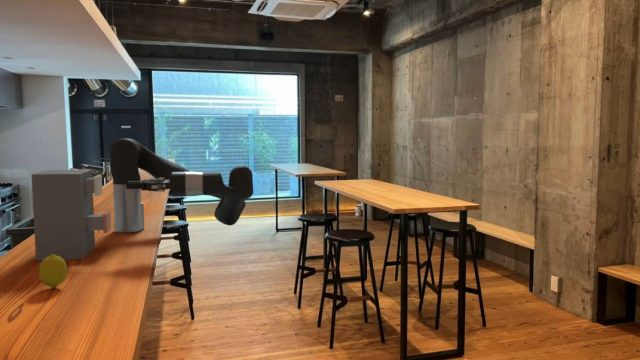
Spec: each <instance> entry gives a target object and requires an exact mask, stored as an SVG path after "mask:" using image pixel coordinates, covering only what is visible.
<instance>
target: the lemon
mask: <svg viewBox="0 0 640 360" xmlns="http://www.w3.org/2000/svg"><path fill="white" fill-rule="evenodd" d="M38 270H39V271H38V275H39V279H40V282H41V283H43V284H44V285H45V286H47V287H50V288H51V289H56V288H57V287H58V286H59V285H61V284H63V283H64V282H65V280H66V278H67V275H68V266H67V263H66V261H65V260H64V259H63V258H61V257H59V256H56V255H54V254H51V255H50V256H48V257H46V258H45V259H44V260H43V261H41V263H40V265H39V268H38Z"/></svg>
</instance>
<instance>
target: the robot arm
mask: <svg viewBox="0 0 640 360" xmlns="http://www.w3.org/2000/svg"><path fill="white" fill-rule="evenodd" d="M109 163H110V164H109V165H110V174H111V177H112V189H113V190H112V196H113V216H114V217H113V219H114V224H113V225H114V232H115V233H125V234H126V233H135V232H140V231H142V230H144V229H145V213H144V212H145V208H144V207H145V206H144V202H142V191H147V192H159V193H161V192H162V193H164V192H165V191H166V190H170V196H171V197H175V198H177V197H198V196H210V197H212V198H216V199H219V200H220V201H219V202H218V204H217V206H216V208H215V210H214V213H213V214H214V217H215V219H216V220H217V221H218V222H219V223H221V224H223V225H225V226H234V225H236V223H238V221H239V219H240V217H241V215H242V213H243V211H244V210H245V208H246V200H248V199H250V198H251V197H252V196H253V194H254V180H253V175H254V174H253V172H252V170H251V168H249V167H248V166H245V165H237V166H235V167H234V168H232V169H231V170H230V172H229V176H228V185H227V184H225V182H224V180H223V176H222V174H221V173H220V172H218V171H217V172H216V171H214V172H213V171H211V172H210V171H209V172H204V171H203V172H202V171H190V170H188V169H186V168H185V167H183V166H181V165H179V164H177V163H176V162H173V161H171V160H169V159H167V158H164V157H162V156H160V155H157V154H156V153H155V152H153V151H151V150H149V149H148V148H147V147H145V146H144V145H142V144H141V143H139V142H138V141H137V140H135V139H134V138H133V139H132V138H128V137H127V138H119V139H116V140H115V141H113V143H112V144H111V146H110V149H109ZM139 169H140V170H142V171H144V172H146V173H147V174H149V175H151V177H153V178H149V179H145V178H144V179H141V178H142V177H141V174H140V170H139Z"/></svg>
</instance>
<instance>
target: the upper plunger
mask: <svg viewBox="0 0 640 360" xmlns="http://www.w3.org/2000/svg"><path fill="white" fill-rule="evenodd" d="M85 193H93V195H94V196H95V197H99V196H101V195H102V194H103V175H102V174H98V175H95V176H93V177H92V178H85Z"/></svg>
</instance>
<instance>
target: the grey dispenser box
mask: <svg viewBox="0 0 640 360" xmlns="http://www.w3.org/2000/svg"><path fill="white" fill-rule="evenodd" d="M85 178H93V170H92V169H52V170H51V169H48V170H44V171H43V170H42V171H40V172H35V173H31V190H32V210H33V230H34V246H35V247H34V249H35V261H36V262H42V261H43V260H44V259H45V258H46V257H48V256H50V255H51V254H54V255H56V256H59V257H61V258H63V259H64V261H65V260H84V259H85V258H86V257H87V256H89V254H90V253H91V252H92V251H93V250H94V248H95V247H96V238H95V237H96V235H95V234H96V233H95V230H91V231H87V224H86V216H87V215H95V212H94V211H95V210H94V193H85Z"/></svg>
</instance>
